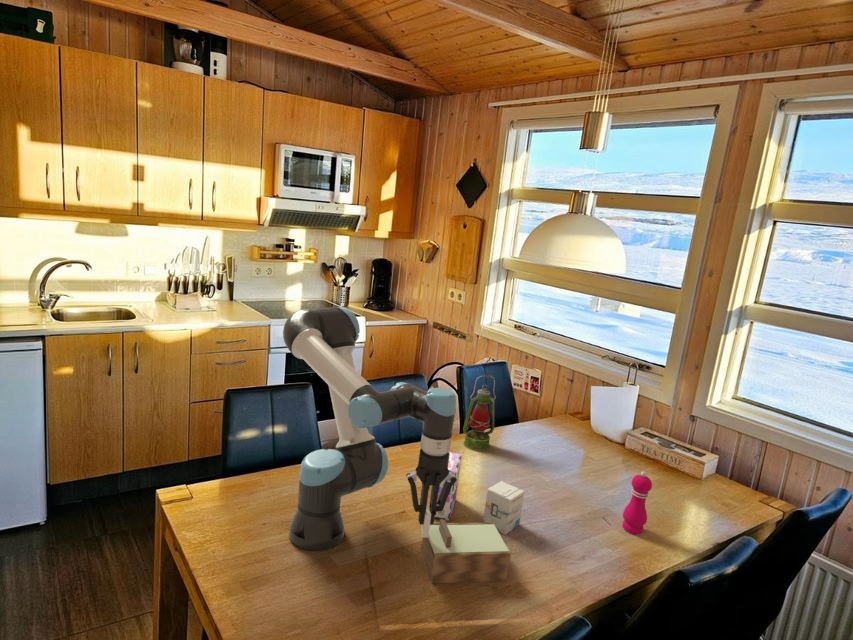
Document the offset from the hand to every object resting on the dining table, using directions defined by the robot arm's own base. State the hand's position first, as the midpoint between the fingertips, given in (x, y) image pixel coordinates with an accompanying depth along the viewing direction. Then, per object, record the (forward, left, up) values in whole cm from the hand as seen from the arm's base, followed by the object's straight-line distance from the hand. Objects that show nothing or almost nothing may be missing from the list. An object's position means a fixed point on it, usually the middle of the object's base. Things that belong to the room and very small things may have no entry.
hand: (424, 534), depth 146 cm
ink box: (+30, +20, -10) cm, 37 cm away
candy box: (+14, +29, -10) cm, 34 cm away
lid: (+12, 0, -2) cm, 12 cm away
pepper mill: (+73, +16, -10) cm, 75 cm away
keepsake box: (+12, 0, -10) cm, 15 cm away
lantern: (+39, +76, -10) cm, 86 cm away
